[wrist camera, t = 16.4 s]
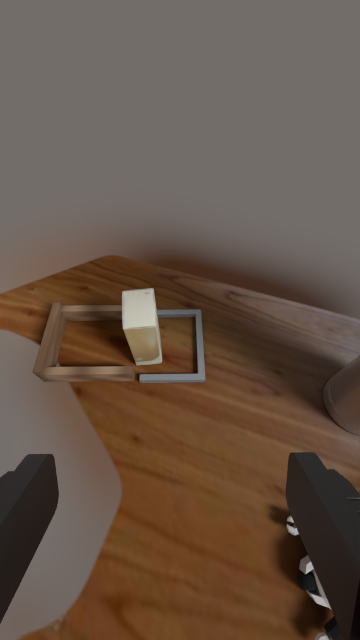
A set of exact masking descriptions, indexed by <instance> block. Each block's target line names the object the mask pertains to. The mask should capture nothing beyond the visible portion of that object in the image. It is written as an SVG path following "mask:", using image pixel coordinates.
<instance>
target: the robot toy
mask: <svg viewBox="0 0 360 640" xmlns="http://www.w3.org/2000/svg"><path fill="white" fill-rule="evenodd" d="M287 521H290V522H293V523H294V521H293V519H292V516H289V517H288V518H287ZM286 527H287V530H288V532H290V533H291V534H293V535H299V533H298V530H297V528H296V526H295V523H294V528H293V527H291V526H289V525H288V524H287V525H286ZM299 569H300V570H301V572H299V573H298V575H297V579H298V583H299V585H300V587H301V588H302V589H303V590H306V591H307V593H308V594H309V596H310V597H311V598H312V599H313V600H314V601H315V602H316V603H317V604H319V605H322V606H325V607H328V608H330V609H331V607H330V605H329V603H328V600H327V598H326V596H325V593H324V591H323V589H322V586H321V584H320V582H319V579H318V577H317V575H316V572H315V570H314V568H313V565H312V563H311V561H310V558H309V556H308V555H307V556H306V557H304V558H303V559H301V560H300V568H299ZM314 590H315V591H314ZM323 627H324V628H325V630H326V632H327V633H326V632H324V633H318V634H317V636H316V638H315V640H344V637H343V635H342V633H341V630H340V628H339V626H338V623H337V621H336V619H335V617H332V618H331V619H330V620H329V621H328V622H327V623H326V624H325V625H324V626H323Z"/></svg>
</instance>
